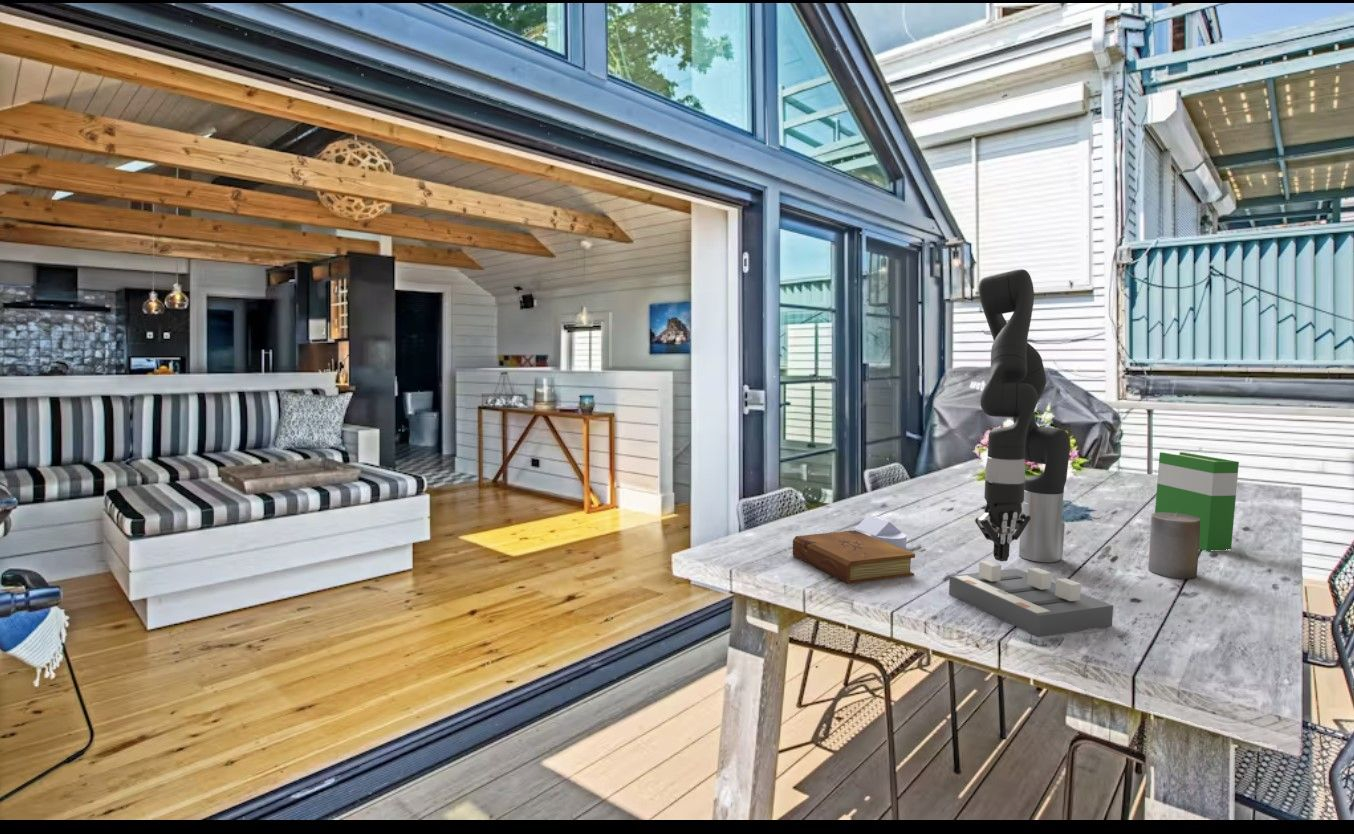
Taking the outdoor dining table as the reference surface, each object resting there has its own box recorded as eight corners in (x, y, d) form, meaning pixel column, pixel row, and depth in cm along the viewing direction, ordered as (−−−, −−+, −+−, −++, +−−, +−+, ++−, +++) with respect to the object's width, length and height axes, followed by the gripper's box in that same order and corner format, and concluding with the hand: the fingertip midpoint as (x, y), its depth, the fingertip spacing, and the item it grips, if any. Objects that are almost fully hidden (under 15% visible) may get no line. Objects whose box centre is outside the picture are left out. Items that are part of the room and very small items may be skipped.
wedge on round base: (854, 540, 197) (886, 552, 185) (855, 516, 196) (887, 527, 185) (880, 537, 201) (913, 549, 189) (881, 513, 200) (914, 524, 188)
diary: (792, 558, 181) (792, 536, 180) (854, 551, 188) (854, 530, 187) (846, 586, 160) (847, 560, 159) (914, 577, 167) (915, 552, 166)
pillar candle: (1194, 571, 173) (1198, 509, 172) (1199, 581, 164) (1203, 517, 163) (1146, 565, 178) (1150, 505, 177) (1148, 575, 169) (1152, 512, 168)
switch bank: (1015, 586, 160) (1016, 567, 159) (1111, 625, 137) (1113, 604, 137) (948, 594, 154) (949, 575, 154) (1038, 636, 131) (1039, 614, 131)
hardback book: (1153, 534, 208) (1159, 452, 206) (1175, 533, 209) (1182, 452, 207) (1206, 551, 191) (1214, 462, 188) (1231, 550, 192) (1238, 461, 189)
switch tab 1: (987, 575, 153) (988, 560, 153) (1000, 580, 149) (1001, 565, 149) (978, 576, 152) (979, 561, 152) (991, 581, 149) (992, 566, 148)
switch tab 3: (1064, 593, 142) (1065, 578, 141) (1080, 600, 138) (1081, 583, 138) (1055, 595, 141) (1056, 579, 141) (1070, 601, 137) (1071, 585, 137)
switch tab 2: (1036, 582, 148) (1037, 567, 148) (1050, 588, 145) (1051, 573, 144) (1027, 584, 147) (1028, 568, 147) (1041, 589, 144) (1042, 574, 144)
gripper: (1015, 474, 155) (1011, 552, 157) (966, 477, 150) (962, 558, 152) (1044, 480, 148) (1039, 562, 150) (993, 484, 143) (989, 568, 145)
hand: (1000, 560), depth 151 cm, fingers closed
